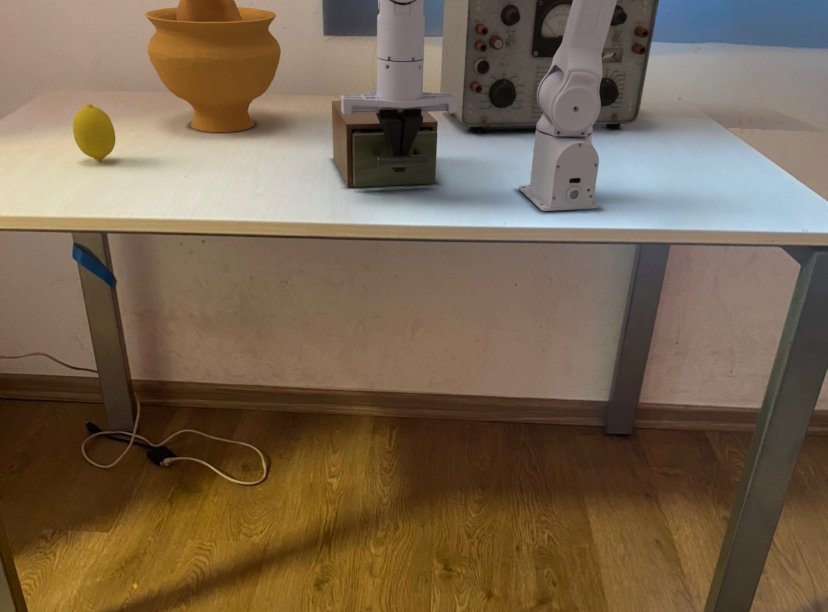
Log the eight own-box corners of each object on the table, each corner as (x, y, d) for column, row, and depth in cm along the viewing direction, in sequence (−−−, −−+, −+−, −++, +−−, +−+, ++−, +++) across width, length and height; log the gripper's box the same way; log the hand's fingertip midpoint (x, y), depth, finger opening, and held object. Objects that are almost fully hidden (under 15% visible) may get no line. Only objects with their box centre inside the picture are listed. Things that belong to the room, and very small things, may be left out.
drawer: (444, 194, 105) (447, 142, 101) (360, 198, 102) (359, 145, 99) (414, 157, 119) (415, 110, 115) (340, 159, 117) (339, 112, 113)
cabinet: (435, 183, 111) (437, 121, 106) (347, 187, 109) (346, 124, 104) (413, 156, 122) (414, 99, 118) (333, 159, 120) (331, 100, 115)
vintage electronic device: (463, 138, 132) (473, -34, 118) (439, 112, 147) (446, -43, 133) (640, 134, 138) (670, -31, 124) (600, 109, 152) (622, -40, 139)
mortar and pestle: (298, 135, 131) (287, -79, 114) (167, 144, 124) (135, -82, 107) (269, 107, 147) (256, -84, 130) (151, 114, 140) (122, -87, 124)
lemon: (78, 167, 113) (66, 109, 108) (81, 157, 117) (69, 100, 113) (119, 166, 114) (108, 107, 110) (120, 155, 118) (110, 99, 114)
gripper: (449, 51, 101) (443, 159, 109) (336, 52, 99) (338, 162, 106) (464, 61, 96) (457, 174, 103) (345, 62, 93) (347, 178, 100)
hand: (398, 169), depth 104 cm, fingers closed, pressing on drawer
